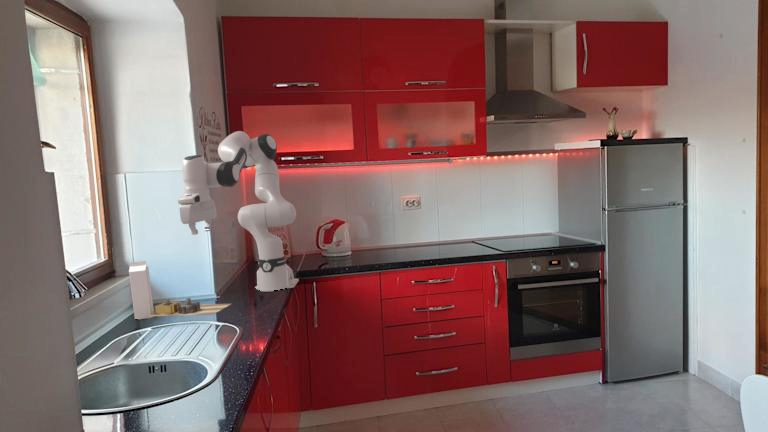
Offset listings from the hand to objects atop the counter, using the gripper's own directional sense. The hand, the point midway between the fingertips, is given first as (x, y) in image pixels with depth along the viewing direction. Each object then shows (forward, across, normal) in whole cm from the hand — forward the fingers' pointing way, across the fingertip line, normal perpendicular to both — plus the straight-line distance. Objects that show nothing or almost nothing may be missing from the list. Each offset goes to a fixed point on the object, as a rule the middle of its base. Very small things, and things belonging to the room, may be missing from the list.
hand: (201, 232), depth 200 cm
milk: (+31, +6, -25) cm, 41 cm away
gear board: (+31, +3, -6) cm, 32 cm away
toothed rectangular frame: (+30, +5, -15) cm, 33 cm away
